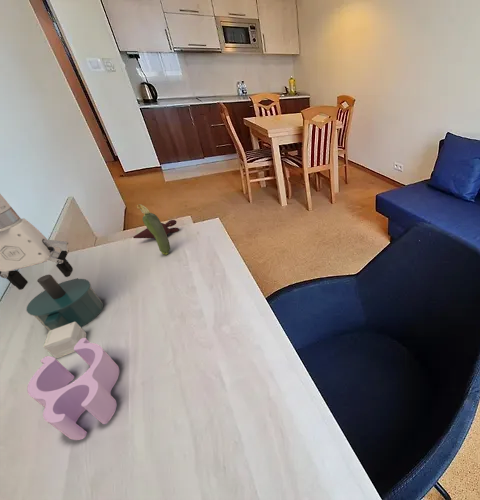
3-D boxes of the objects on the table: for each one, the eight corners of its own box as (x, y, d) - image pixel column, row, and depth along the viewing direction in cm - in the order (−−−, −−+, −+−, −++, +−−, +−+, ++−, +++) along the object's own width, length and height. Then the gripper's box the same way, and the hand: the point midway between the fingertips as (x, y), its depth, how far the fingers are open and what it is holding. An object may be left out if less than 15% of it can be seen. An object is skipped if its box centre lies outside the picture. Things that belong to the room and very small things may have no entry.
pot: (37, 349, 75) (15, 329, 71) (62, 303, 89) (45, 284, 84) (94, 331, 78) (77, 311, 74) (110, 289, 92) (96, 270, 88)
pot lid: (19, 325, 73) (-3, 304, 69) (41, 291, 83) (23, 271, 79) (84, 306, 76) (66, 285, 72) (97, 276, 87) (83, 256, 83)
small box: (60, 343, 76) (48, 330, 73) (87, 333, 78) (76, 320, 75) (55, 360, 72) (41, 347, 69) (83, 349, 74) (71, 336, 71)
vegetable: (173, 249, 108) (147, 198, 97) (177, 253, 106) (151, 202, 94) (160, 254, 106) (132, 203, 94) (164, 259, 103) (136, 207, 92)
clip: (132, 407, 60) (113, 388, 56) (55, 457, 54) (28, 440, 50) (113, 349, 73) (97, 330, 69) (48, 384, 66) (26, 365, 62)
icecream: (132, 236, 105) (178, 223, 113) (127, 224, 109) (172, 212, 117) (138, 250, 110) (182, 237, 118) (134, 238, 114) (177, 226, 122)
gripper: (-68, 240, 61) (-3, 301, 71) (35, 217, 66) (82, 277, 75) (-45, 224, 67) (12, 282, 77) (48, 204, 71) (90, 261, 81)
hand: (47, 279), depth 76 cm, fingers open, 9 cm apart
